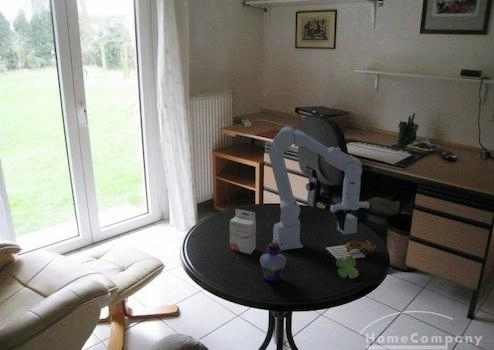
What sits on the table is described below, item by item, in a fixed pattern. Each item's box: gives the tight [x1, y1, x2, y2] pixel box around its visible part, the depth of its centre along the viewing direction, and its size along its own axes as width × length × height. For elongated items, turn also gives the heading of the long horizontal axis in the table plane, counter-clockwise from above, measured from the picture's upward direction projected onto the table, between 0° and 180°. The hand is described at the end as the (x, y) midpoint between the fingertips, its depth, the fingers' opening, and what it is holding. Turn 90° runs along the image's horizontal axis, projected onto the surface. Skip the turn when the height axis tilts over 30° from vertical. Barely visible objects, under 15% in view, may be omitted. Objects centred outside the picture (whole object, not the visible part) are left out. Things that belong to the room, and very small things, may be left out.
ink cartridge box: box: [229, 208, 257, 255], centre depth 148 cm, size 9×5×15 cm, turn 65°
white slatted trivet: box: [325, 244, 366, 260], centre depth 148 cm, size 12×10×1 cm
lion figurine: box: [345, 239, 379, 253], centre depth 147 cm, size 12×4×7 cm
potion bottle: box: [259, 242, 288, 284], centre depth 129 cm, size 9×9×12 cm
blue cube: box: [336, 213, 358, 235], centre depth 147 cm, size 5×5×6 cm
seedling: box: [335, 256, 360, 279], centre depth 134 cm, size 7×8×6 cm
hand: (348, 228), depth 147 cm, fingers closed on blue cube, 5 cm apart
